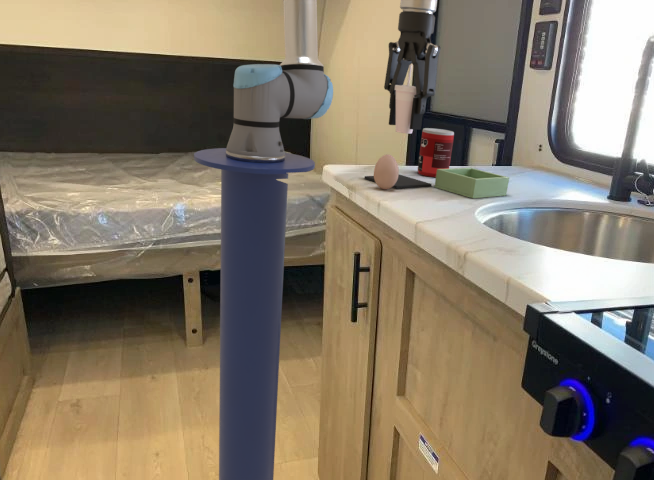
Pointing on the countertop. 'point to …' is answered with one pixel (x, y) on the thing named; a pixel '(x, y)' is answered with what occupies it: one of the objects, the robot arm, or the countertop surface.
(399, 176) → the drinks pad
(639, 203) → the countertop surface
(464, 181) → the bin
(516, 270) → the countertop surface
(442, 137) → the canned food
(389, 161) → the egg
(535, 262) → the countertop surface
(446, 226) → the countertop surface
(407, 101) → the smoothie
